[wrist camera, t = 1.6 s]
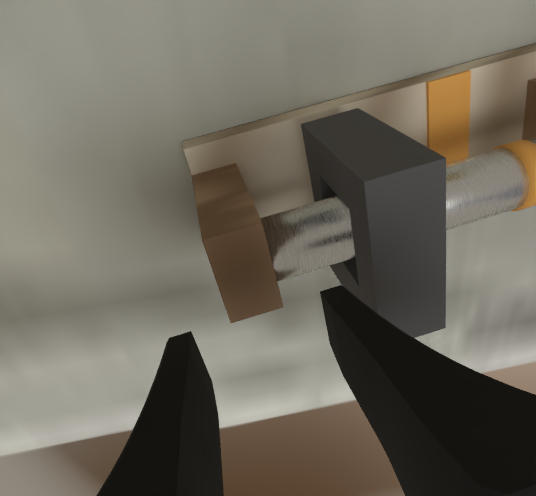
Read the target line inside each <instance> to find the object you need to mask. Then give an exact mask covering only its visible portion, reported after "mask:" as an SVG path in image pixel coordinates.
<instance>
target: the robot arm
mask: <svg viewBox="0 0 536 496" xmlns="http://www.w3.org/2000/svg"><path fill="white" fill-rule="evenodd" d="M320 294H321V299H322V304H323V309H324V315H325V320H326V325H327V330H328V336H329V341H330V345H331V347H332V350H333V352H334V355H335V357H336V360H337V362H338V364H339V367H340V369H341V371H342V374H343V376H344V378H345V380H346V381H347V383H348V385H349V387H350V389H351V390H352V392H353V394H354V396H355V398H356V399H357V401H358V403H359V405H360V407H361V408H362V410H363V412H364V413H365V416H366V417H367V419H368V421H369V423H370V424H371V426H372V428H373V430H374V431H375V433H376V435H377V437H378V439H379V440H380V442H381V444H382V446H383V448H384V450H385V452H386V454H387V456H388V458H389V460H390V462H391V464H392V467H393V469H394V471H395V473H396V476H397V478H398V480H399V482H400V485H401V487H402V489H403V491H404V494H405V496H536V395H535V394H531V393H529V392H526V391H523V390H520V389H518V388H515V387H512V386H510V385H507V384H505V383H503V382H500V381H498V380H495V379H493V378H491V377H488V376H486V375H483V374H481V373H479V372H476V371H474V370H472V369H470V368H468V367H466V366H464V365H461V364H459V363H457V362H455V361H453V360H452V359H450V358H448V357H446V356H444V355H442V354H440V353H438V352H436V351H435V350H433V349H431V348H429V347H428V346H426V345H424V344H423V343H421V342H419V341H418V340H416V339H414V338H413V337H411V336H410V335H408V334H407V333H405V332H403V331H402V330H400V329H399V328H397V327H396V326H395V325H393V324H392V323H390V322H389V321H387V320H386V319H385V318H383V317H382V316H380V315H379V314H378V313H376V312H375V311H374V310H372V309H371V308H370V307H368V306H367V305H366V304H364V303H363V302H362V301H361V300H359V299H358V298H357V297H356V296H354V295H353V294H352V293H351V292H350V291H349V290H347V289H346V288H345V287H343V286H341V285H340V286H337V287H333V288H330V289H327V290H324V291H320ZM223 495H224V494H223V480H222V464H221V448H220V435H219V419H218V411H217V406H216V400H215V395H214V389H213V384H212V380H211V378H210V375H209V373H208V371H207V368H206V366H205V363H204V361H203V359H202V356H201V354H200V351H199V349H198V347H197V344H196V342H195V339H194V337H193V335H192V332H191V331H190V332H187V333H184V334H181V335H177V336H174V337H171V338H169V340H168V341H167V343H166V347H165V350H164V353H163V356H162V359H161V362H160V365H159V368H158V371H157V374H156V376H155V379H154V382H153V384H152V387H151V389H150V392H149V394H148V397H147V400H146V402H145V404H144V407H143V409H142V411H141V413H140V416H139V418H138V420H137V422H136V424H135V427H134V429H133V431H132V433H131V435H130V438H129V439H128V441H127V443H126V445H125V447H124V449H123V451H122V453H121V455H120V457H119V459H118V460H117V462H116V464H115V466H114V467H113V469H112V471H111V473H110V475H109V476H108V478H107V479H106V481H105V483H104V484H103V486H102V488H101V489H100V491H99V492H98V494H97V496H223Z"/></svg>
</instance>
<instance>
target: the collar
mask: <svg viewBox="0 0 536 496" xmlns="http://www.w3.org/2000/svg"><path fill="white" fill-rule="evenodd" d="M301 128H302V134H303V139H304V145H305V151H306V157H307V162H308V168H309V174H310V180H311V185H312V191H313V197H314V202H317V201H321V200H324V199H327V198H331V197H334V196H338V197H339V198H340V199H341V200H342V201H343V203H344V204H345V205H346V206H347V207H348V208H349V211H350V219H351V227H352V234H353V242H354V250H355V258H352V259H349V260H346V261H343V262H339V263H336V264H333V265H330V267H331V268H332V270H333V271H334V273H335V275H336V276H337V278H338V279H339V281H340V283H341V284H342V286H343V287H345V288H346V289H347V290H349V291H350V292H351V293H352V294H353V295H354V296H356V297H357V298H358V299H359V300H361V301H362V302H363V303H364V304H366V305H367V306H368V307H370V308H371V309H372V310H374V311H375V312H376V313H378V314H379V315H380V316H382V317H383V318H385V319H386V320H387V321H389V322H390V323H392V324H393V325H395V326H396V327H397V328H399V329H400V330H402V331H403V332H405V333H407V334H408V335H410V336H411V337H413V338H415V337H418V336H421V335H425V334H428V333H431V332H434V331H437V330H440V329H443V328H445V316H446V157H444V156H442V155H440V154H438V153H437V152H435V151H433V150H431V149H430V148H428V147H426V146H424V145H423V144H421V143H419V142H417V141H415V140H414V139H412V138H410V137H408V136H407V135H405V134H403V133H401V132H400V131H398V130H396V129H394V128H393V127H391V126H389V125H387V124H385V123H384V122H382V121H380V120H378V119H377V118H375V117H373V116H371V115H370V114H368V113H366V112H364V111H363V110H361V109H359V108H356V109H352V110H349V111H345V112H342V113H338V114H334V115H331V116H327V117H324V118H320V119H317V120H313V121H309V122H306V123H302V124H301Z"/></svg>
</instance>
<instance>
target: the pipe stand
mask: <svg viewBox="0 0 536 496" xmlns="http://www.w3.org/2000/svg"><path fill="white" fill-rule="evenodd" d="M356 108H359V109H361V110H363V111H364V112H366V113H368V114H370V115H371V116H373V117H375V118H377V119H378V120H380V121H382V122H384V123H385V124H387V125H389V126H391V127H393V128H394V129H396V130H398V131H400V132H401V133H403V134H405V135H407V136H408V137H410V138H412V139H414V140H415V141H417V142H419V143H421V144H423V145H424V146H426V147H428V148H430V149H431V150H433V151H435V152H437V153H438V154H440V155H442V156H444V157H446V230H448V229H451V228H454V227H458V226H461V225H464V224H468V223H471V222H474V221H478V220H481V219H484V218H487V217H491V216H494V215H497V214H501V213H504V212H507V211H517V210H521V209H524V208H528V207H531V206H534V205H536V44H532V45H528V46H525V47H521V48H518V49H514V50H510V51H507V52H503V53H499V54H496V55H492V56H489V57H485V58H481V59H478V60H474V61H471V62H467V63H463V64H460V65H456V66H453V67H449V68H445V69H442V70H438V71H435V72H431V73H427V74H424V75H420V76H417V77H413V78H409V79H406V80H402V81H399V82H395V83H391V84H388V85H384V86H381V87H377V88H373V89H370V90H366V91H363V92H359V93H355V94H352V95H348V96H344V97H341V98H337V99H334V100H330V101H326V102H323V103H319V104H316V105H312V106H308V107H305V108H301V109H298V110H294V111H290V112H287V113H283V114H280V115H276V116H272V117H269V118H265V119H262V120H258V121H254V122H251V123H247V124H244V125H240V126H236V127H233V128H229V129H226V130H222V131H218V132H215V133H211V134H208V135H204V136H200V137H197V138H193V139H189V140H186V141H182V144H183V150H184V153H185V156H186V159H187V162H188V165H189V169H190V172H191V175H192V180H193V186H194V192H195V198H196V205H197V211H198V217H199V223H200V229H201V236H202V241H203V244H204V247H205V250H206V253H207V256H208V258H209V261H210V264H211V267H212V270H213V273H214V276H215V279H216V282H217V284H218V287H219V290H220V293H221V296H222V299H223V302H224V305H225V308H226V310H227V313H228V316H229V319H230V322H231V323H233V322H236V321H240V320H243V319H246V318H249V317H253V316H256V315H259V314H262V313H266V312H269V311H272V310H275V309H279V308H282V307H283V303H282V299H281V295H280V291H279V287H278V283H277V281H280V280H283V279H287V278H290V277H293V276H297V275H300V274H303V273H306V272H310V271H313V270H316V269H320V268H323V267H326V266H329V265H333V264H336V263H339V262H343V261H346V260H349V259H352V258H355V250H354V242H353V234H352V227H351V219H350V211H349V208H348V207H347V206H346V205H345V204H344V203H343V201H342V200H341V199H340V198H339V197H338V196H334V197H331V198H327V199H324V200H321V201H317V202H314V197H313V191H312V185H311V180H310V174H309V168H308V162H307V157H306V151H305V145H304V139H303V134H302V128H301V124H302V123H306V122H309V121H313V120H317V119H320V118H324V117H327V116H331V115H334V114H338V113H342V112H345V111H349V110H352V109H356Z"/></svg>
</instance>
